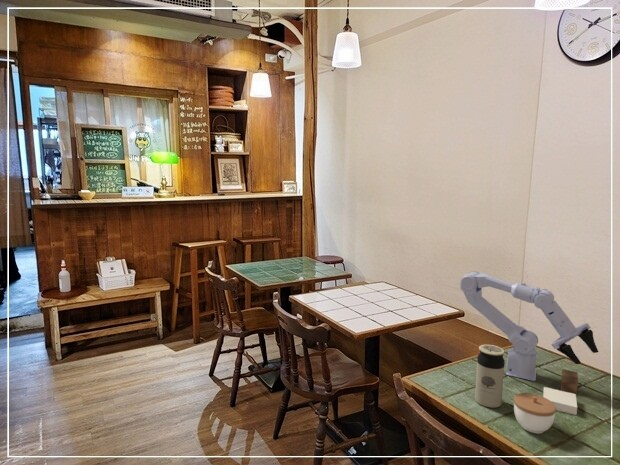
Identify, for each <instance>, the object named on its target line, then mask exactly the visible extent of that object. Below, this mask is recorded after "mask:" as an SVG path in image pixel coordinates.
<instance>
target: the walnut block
mask: <svg viewBox="0 0 620 465" xmlns="http://www.w3.org/2000/svg"><path fill="white" fill-rule="evenodd" d="M578 384H579V373H578V371H573V370H570V369H569V370H568V369H561V380H560V391H564V392H568V393H573V394H576V395H577V394H578V393H577V392H578Z"/></svg>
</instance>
